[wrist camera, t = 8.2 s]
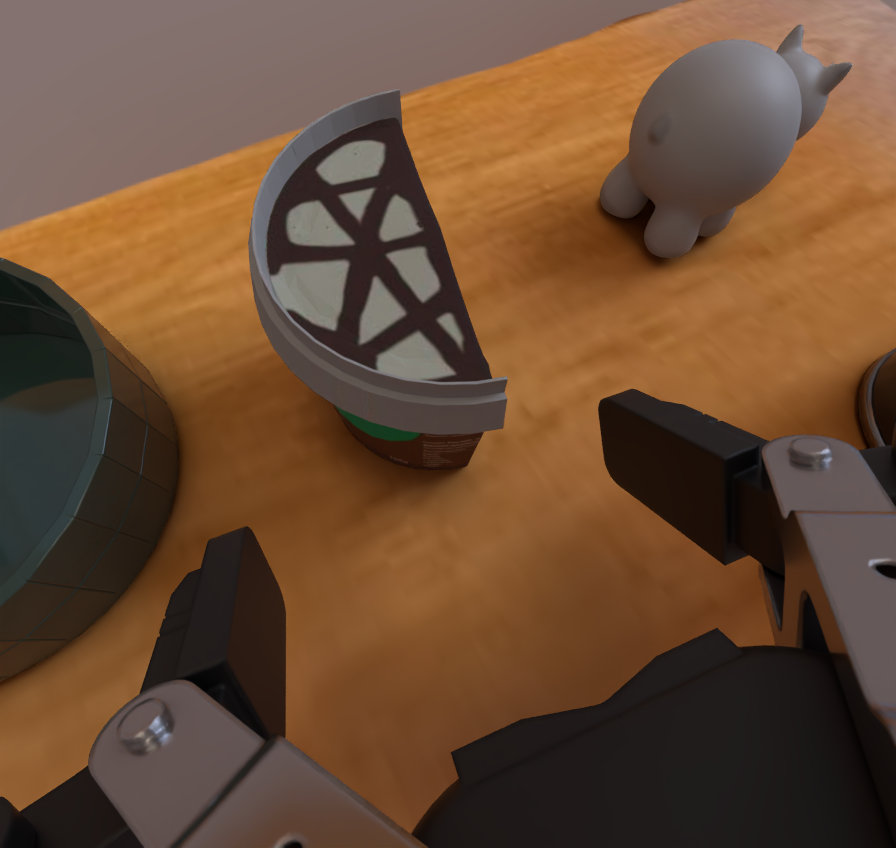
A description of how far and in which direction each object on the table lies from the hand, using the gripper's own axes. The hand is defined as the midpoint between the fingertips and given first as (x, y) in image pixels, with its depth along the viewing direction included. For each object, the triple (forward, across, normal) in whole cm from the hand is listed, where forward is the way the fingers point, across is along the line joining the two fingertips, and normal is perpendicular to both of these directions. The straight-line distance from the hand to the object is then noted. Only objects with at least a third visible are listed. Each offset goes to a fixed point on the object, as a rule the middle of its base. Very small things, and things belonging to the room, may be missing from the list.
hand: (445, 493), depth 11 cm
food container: (+13, 0, -2) cm, 14 cm away
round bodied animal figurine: (+17, +21, +2) cm, 27 cm away
